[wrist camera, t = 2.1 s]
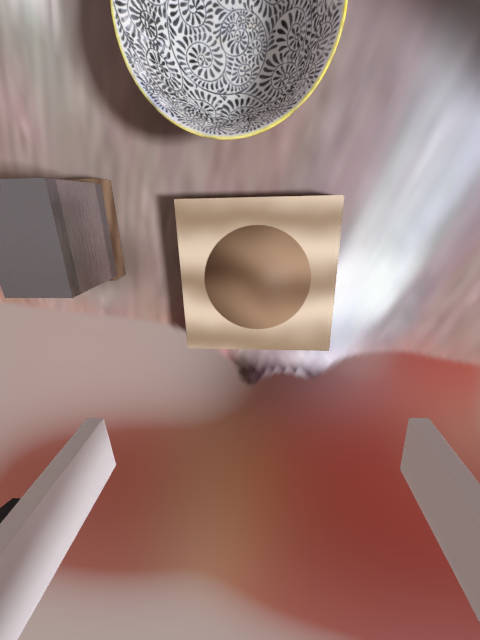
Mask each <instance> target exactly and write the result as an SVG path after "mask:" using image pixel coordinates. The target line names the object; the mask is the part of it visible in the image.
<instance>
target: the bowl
mask: <svg viewBox="0 0 480 640" xmlns="http://www.w3.org/2000/svg"><path fill="white" fill-rule="evenodd" d="M347 3H348V0H110V5H111V14H112V20H113V25H114V30H115V34H116V38H117V41H118V45H119V48H120V51H121V54H122V56H123V59H124V61H125V64H126V66H127V68H128V70H129V72H130V74H131V76H132V78H133V80H134V82H135V83H136V85H137V87H138V88H139V90H140V91H141V92H142V94H143V95H144V97H145V98H146V99H147V100H148V101H149V102H150V104H151V105H152V106H153V107H154V108H155V109H156V110H157V111H158V112H159V113H160V114H161V115H163V116H164V117H165V118H166V119H167V120H169V121H170V122H172V123H173V124H175V125H176V126H178V127H180V128H182V129H184V130H186V131H188V132H190V133H193V134H195V135H199V136H202V137H206V138H211V139H222V140H229V139H240V138H245V137H249V136H253V135H256V134H259V133H261V132H264V131H266V130H268V129H270V128H272V127H274V126H275V125H277V124H279V123H280V122H282V121H283V120H285V119H286V118H287V117H289V116H290V115H291V114H292V113H293V112H295V111H296V110H297V109H298V108H299V107H300V106H301V105H302V104H303V103H304V102H305V101H306V99H307V98H308V97H309V96H310V95H311V93H312V92H313V91H314V89H315V88H316V87H317V85H318V84H319V82H320V81H321V79H322V77H323V76H324V74H325V72H326V70H327V68H328V67H329V64H330V62H331V60H332V58H333V56H334V53H335V51H336V48H337V45H338V43H339V40H340V36H341V33H342V29H343V25H344V21H345V16H346V11H347Z"/></svg>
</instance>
